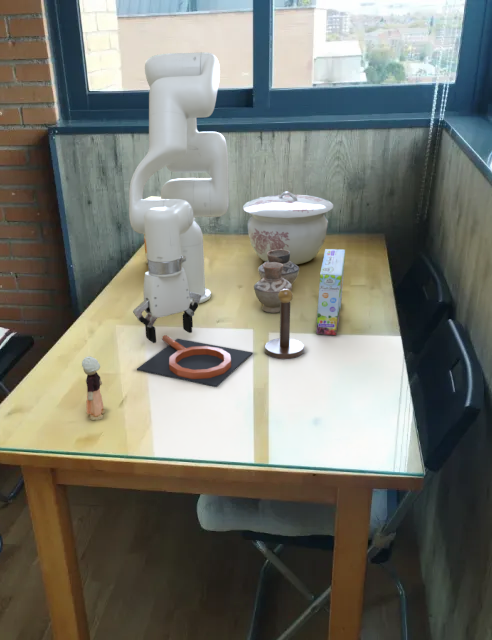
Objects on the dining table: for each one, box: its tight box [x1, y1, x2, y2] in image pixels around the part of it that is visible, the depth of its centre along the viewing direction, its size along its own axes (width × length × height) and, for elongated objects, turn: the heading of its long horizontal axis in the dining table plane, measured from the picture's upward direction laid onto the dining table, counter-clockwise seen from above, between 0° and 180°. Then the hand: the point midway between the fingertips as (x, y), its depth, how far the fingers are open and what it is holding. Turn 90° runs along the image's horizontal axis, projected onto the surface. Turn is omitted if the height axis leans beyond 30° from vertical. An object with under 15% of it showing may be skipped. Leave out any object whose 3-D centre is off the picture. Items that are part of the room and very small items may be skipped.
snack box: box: [315, 248, 346, 336], centre depth 171 cm, size 21×6×15 cm, turn 168°
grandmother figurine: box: [81, 355, 106, 421], centre depth 134 cm, size 8×4×13 cm, turn 5°
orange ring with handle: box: [161, 334, 231, 379], centre depth 157 cm, size 24×14×2 cm, turn 32°
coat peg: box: [264, 289, 305, 360], centre depth 156 cm, size 9×9×15 cm
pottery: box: [253, 250, 300, 314], centre depth 185 cm, size 11×25×12 cm, turn 170°
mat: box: [136, 338, 253, 388], centre depth 156 cm, size 20×18×1 cm
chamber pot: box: [242, 191, 335, 266], centre depth 213 cm, size 28×28×21 cm
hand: (170, 336), depth 163 cm, fingers open, 9 cm apart
